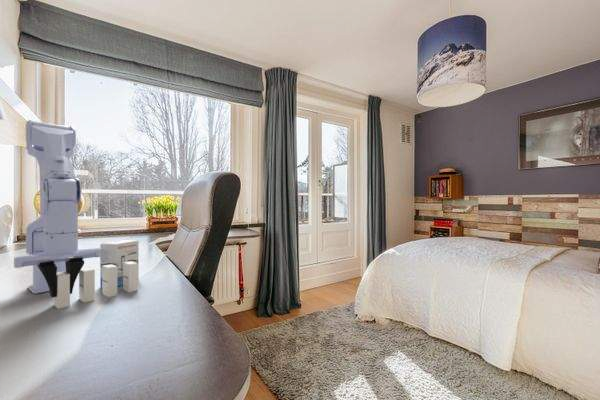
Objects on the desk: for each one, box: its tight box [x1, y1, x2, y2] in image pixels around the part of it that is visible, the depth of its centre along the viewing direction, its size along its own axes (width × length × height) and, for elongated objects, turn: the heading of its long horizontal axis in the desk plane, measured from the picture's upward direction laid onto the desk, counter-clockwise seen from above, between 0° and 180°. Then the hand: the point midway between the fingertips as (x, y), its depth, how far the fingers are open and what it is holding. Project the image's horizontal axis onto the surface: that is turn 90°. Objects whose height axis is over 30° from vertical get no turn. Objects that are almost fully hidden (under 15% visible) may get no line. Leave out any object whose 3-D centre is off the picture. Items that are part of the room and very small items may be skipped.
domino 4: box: [122, 261, 139, 293], centre depth 72 cm, size 4×2×7 cm, turn 51°
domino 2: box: [78, 267, 96, 303], centre depth 65 cm, size 4×2×7 cm, turn 51°
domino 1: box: [53, 271, 71, 310], centre depth 61 cm, size 4×2×7 cm, turn 51°
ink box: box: [99, 239, 139, 288], centre depth 78 cm, size 9×5×12 cm, turn 168°
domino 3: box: [101, 264, 118, 298], centre depth 69 cm, size 4×2×7 cm, turn 51°
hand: (61, 294), depth 61 cm, fingers closed on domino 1, 2 cm apart
